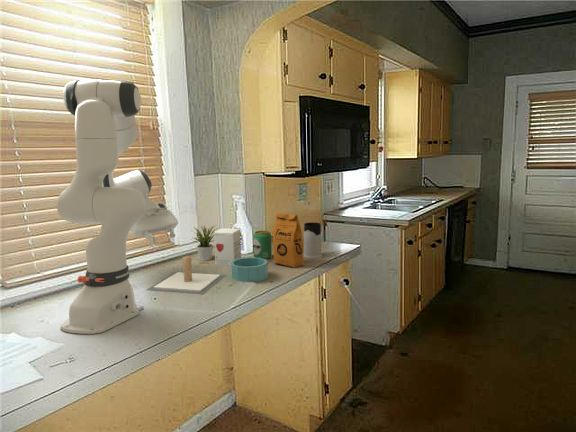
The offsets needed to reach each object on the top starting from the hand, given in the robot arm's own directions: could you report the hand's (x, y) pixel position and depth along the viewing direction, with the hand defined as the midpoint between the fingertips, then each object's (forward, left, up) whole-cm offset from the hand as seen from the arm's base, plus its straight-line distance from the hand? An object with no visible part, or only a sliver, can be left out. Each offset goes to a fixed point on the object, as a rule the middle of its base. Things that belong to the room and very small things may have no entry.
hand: (163, 239), depth 160 cm
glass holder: (+46, -51, -16) cm, 70 cm away
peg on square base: (-4, -11, -15) cm, 19 cm away
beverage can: (+36, -28, -16) cm, 48 cm away
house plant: (+30, -4, -16) cm, 34 cm away
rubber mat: (-4, -11, -16) cm, 20 cm away
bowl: (+8, -31, -16) cm, 36 cm away
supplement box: (+24, -16, -16) cm, 33 cm away
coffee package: (+28, -42, -16) cm, 53 cm away
